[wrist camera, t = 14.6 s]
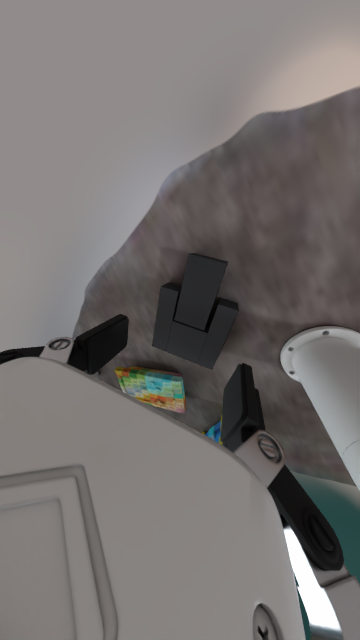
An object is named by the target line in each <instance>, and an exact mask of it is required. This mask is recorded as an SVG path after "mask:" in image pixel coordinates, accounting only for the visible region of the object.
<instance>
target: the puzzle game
mask: <svg viewBox="0 0 360 640" xmlns="http://www.w3.org/2000/svg"><path fill="white" fill-rule="evenodd" d="M115 372H116V375H117V378H118V380H119V383H120V386H121V388H122V391H123V392H124V393H126V394H128V395H130V396H132V397H134V398H136V399H138V400H140V401H142V402H143V403H145V404H149V405H152V406H156V407H160V408H164V409H168V410H171V411H175V412H179V413H186V409H187V408H186V400H185V393H184V385H183V378H182V375H181V374H180V373H174V372H167V371H161V370H155V369H148V368H142V367H129V368H124V367H117V368H116V369H115Z"/></svg>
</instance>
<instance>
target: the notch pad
mask: <svg viewBox="0 0 360 640" xmlns="http://www.w3.org/2000/svg"><path fill="white" fill-rule="evenodd" d="M181 288H182V286H180V285H176V284H173V283H170V282H169V283H167V284H165V285H163V286H161V289H160V296H159V303H158V309H157V316H156V323H155V330H154V337H153V344H152V346H153V347H156V348H158V349H161V350H163V351H166V352H168V353H171V354H173V355H176V356H178V357H181V358H183V359H186V360H188V361H191V362H194V363H196V364H199V365H201V366H204V367H206V368H209V369H211V370H212V369H213V367H214V364H215V362H216V360H217V358H218V356H219V353H220V351H221V349H222V347H223V345H224V342H225V340H226V338H227V336H228V334H229V331H230V329H231V327H232V325H233V323H234V320H235V318H236V316H237V314H238V311H239V309H238V303H236V302H233V301H229V300H226V299H223V298H220V299H219V302H218V305H217V308H216V310H215V313H214V316H213V319H212V321H211V324H208V323H206V326H205V329H204V330H201V329H198V328H196V327H193V326H190V325H187V324H184V323H181V322H178V321H176V320H174V319H175V315H176V310H177V306H178V301H179V297H180V292H181Z"/></svg>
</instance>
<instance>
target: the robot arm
mask: <svg viewBox="0 0 360 640" xmlns="http://www.w3.org/2000/svg"><path fill="white" fill-rule="evenodd" d="M128 323H129V320H128V319H127V316H125V315H122V314H119V315H117V316H115V317H113V318H111V319H109V320H108V321H106V322H104V323H102V324H100V325H98V326H96V327H95V328H93V329H91V330H89V331H87V332H85V333H83V334H81V335H80V336H78V337H76V340H74V341H73V339H71V338H67V337H60V338H56V339H53V340H51V341H49V342H48V343H47V344H46V346H42V347H31V348H21V349H11V350H6V351H3V352H1V353H0V640H306V639H305V633H304V628H303V622H302V617H301V612H300V605H299V600H298V594H297V589H296V584H295V579H294V574H293V571H294V573H295V576H296V578H297V581H298V583H299V586H297V588H298V590H299V593H300V595H301V598H302V600H303V603H304V605H305V609H306V612H307V615H308V618H309V623H310V629H311V640H360V584H359V583H358V581H357V579H356V577H355V576H354V575H352V576H351V575H350V574H349V572H348V570H347V568H346V567H345V565H344V563H343V562H344V558H343V552H342V549H341V546H340V543H339V540H338V538H337V536H336V534H335V532H334V530H333V529H332V527H331V526H330V524H329V523H328V521H327V520H326V518H325V517H324V516H323V515H322V513H321V512H320V510H319V509H318V508H317V507H316V505H315V504H314V503H313V501H312V500H311V498H310V497H309V496H308V495H307V493H306V492H305V491H304V489H303V488H302V487H301V485H300V484H299V483H298V481H297V480H296V479H295V477H294V476H293V475H292V473H291V472H290V471H289V469H288V468H287V467H286V465H285V453H284V450H283V448H282V446H281V445H280V443H279V442H278V440H277V439H276V438H275V437H274V436H273V435H272V434H270V433H269V432H267V431H265V425H264V419H263V413H262V408H261V402H260V396H259V391H258V390H257V389H255V387H254V380H253V373H252V367H251V366H249V365H246V364H244V363H242V365H241V364H239V365H238V366H237V368H236V370H235V372H234V373H233V375H232V377H231V378H230V380H229V382H228V383H227V385H226V387H225V389H224V396H223V409H222V423H221V436H220V441H221V442H223V445H221V444H219V443H218V442H216V441H214V440H213V439H211V438H209V437H207V436H206V435H204V434H202V433H200V432H198V431H196V430H195V429H193V428H191V427H189V426H187V425H185V424H183V423H182V422H180V421H178V420H176V419H174V418H172V417H170V416H168V415H166V414H164V413H163V412H161V411H159V410H157V409H155V408H153V407H151V406H149V405H147V404H145V403H143V402H142V401H140V400H138V399H136V398H134V397H132V396H130V395H128V394H126V393H124V392H122V391H120V390H118V389H116V388H114V387H113V386H111V385H109V384H107V383H105V382H103V381H101V380H99V379H97V378H95V377H93V376H91V375H93V374H95V373H96V372H97V371H98V370H100V369H101V368H102V367H103V366H104V365H105V364H106V363H108V362H109V361H110V360H111V359H112V358H113V357H115V356H116V355H117V354H118V353H119V352H120V351H122V350H123V349H124V348H125V347H126V345H127V339H128ZM280 360H281V364H282V366H283V368H284V370H285V372H286V373H287V374H288V375H289V376H290V377H291V378H293V379H294V380H296V381H298V382H300V383H302V385H303V387H304V389H305V391H306V393H307V395H308V396H309V398H310V400H311V402H312V404H313V406H314V408H315V410H316V411H317V413H318V415H319V417H320V419H321V421H322V423H323V425H324V427H325V428H326V430H327V432H328V434H329V436H330V438H331V440H332V442H333V443H334V445H335V447H336V449H337V451H338V453H339V455H340V457H341V459H342V460H343V462H344V464H345V466H346V468H347V470H348V472H349V473H350V475H351V477H352V479H353V481H354V482H355V484H356V486H357V487H358V489H359V490H360V333H358V332H356V331H354V330H351V329H348V328H345V327H338V326H322V327H315V328H312V329H308V330H305V331H303V332H300V333H298V334H297V335H295V336H293V337H292V338H291V339H290V340H289V341H287V343H286V344H285V345H284V347H283V349H282V351H281V355H280ZM292 568H293V569H292Z"/></svg>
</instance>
